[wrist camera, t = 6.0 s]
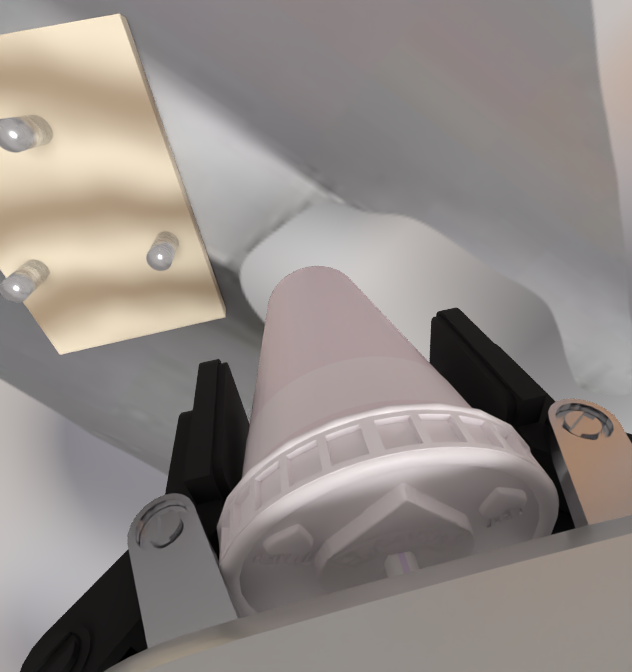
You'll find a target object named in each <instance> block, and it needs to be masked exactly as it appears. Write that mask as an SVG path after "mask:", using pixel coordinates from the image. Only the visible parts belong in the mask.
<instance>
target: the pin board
mask: <svg viewBox="0 0 632 672" xmlns="http://www.w3.org/2000/svg"><path fill="white" fill-rule="evenodd" d="M0 269H1V271H2V272H3V274H4V275H5V277H6V279H5V280H4V281H2V282H1V283H0V294H1V295H2V296H3V297H4V298H6V299H7V300H9V301H12V302H22V301H23V302H24V304H25V305H26V307H27V308H28V310H29V311H30V312H31V314H32V315H33V317H34V318H35V320H36V321H37V322H38V324H39V325H40V327H41V328H42V330H43V331H44V333H45V334H46V335H47V337H48V338H49V340H50V341H51V343H52V344H53V345H54V347H55V348H56V350H57V351H58V353H59V354H60V355H61V354H65V353H69V352H74V351H78V350H83V349H87V348H91V347H96V346H100V345H105V344H109V343H113V342H118V341H122V340H127V339H131V338H135V337H140V336H144V335H149V334H153V333H157V332H162V331H166V330H171V329H175V328H179V327H184V326H188V325H193V324H197V323H201V322H206V321H210V320H215V319H219V318H223V317H226V307H225V305H224V302H223V299H222V296H221V293H220V290H219V287H218V284H217V281H216V278H215V275H214V273H213V270H212V267H211V264H210V261H209V258H208V255H207V252H206V249H205V246H204V243H203V241H202V238H201V235H200V232H199V229H198V226H197V223H196V220H195V217H194V214H193V211H192V209H191V206H190V203H189V200H188V197H187V194H186V191H185V188H184V185H183V182H182V180H181V177H180V174H179V171H178V168H177V165H176V162H175V159H174V156H173V153H172V150H171V148H170V145H169V142H168V139H167V136H166V133H165V130H164V127H163V124H162V121H161V118H160V116H159V113H158V110H157V107H156V104H155V101H154V98H153V95H152V92H151V89H150V86H149V84H148V81H147V78H146V75H145V72H144V69H143V66H142V63H141V60H140V57H139V54H138V52H137V49H136V46H135V43H134V40H133V37H132V34H131V31H130V28H129V25H128V22H127V20H126V18H125V17H124V16H122V15H121V14H115V15H109V16H103V17H98V18H92V19H86V20H81V21H75V22H70V23H64V24H58V25H53V26H47V27H41V28H36V29H30V30H24V31H19V32H13V33H8V34H2V35H0Z"/></svg>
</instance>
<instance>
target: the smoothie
mask: <svg viewBox="0 0 632 672" xmlns="http://www.w3.org/2000/svg"><path fill="white" fill-rule="evenodd" d="M558 509H559V497H558V493H557V489H556V487H555V485H554V483H553V481H552V480H551V479H550V477H549V476H548V475H547V473H546V472H545V471H544V470H543V468H542V467H541V466H540V465H539V463H538V462H537V461H536V459H535V458H534V457H533V456H532V454H531V452H530V447H529V446H528V445H527V443H526V442H525V441H524V440H523V439H522V437H521V436H520V435H519V434H518V433H517V432H516V430H515V429H514V428H513V427H512V426H511V425H510V424H508V423H506V422H504V421H502V420H500V419H498V418H496V417H494V416H492V415H490V414H488V413H486V412H484V411H482V410H480V409H474V408H472V407H471V406H470V405H469V404H468V403H467V402H466V401H465V400H464V399H463V398H462V396H461V395H460V394H459V393H458V392H457V391H456V390H455V389H454V388H453V387H452V385H451V384H450V383H449V382H448V381H447V380H446V379H445V378H444V377H443V376H441V375H440V373H439V372H438V371H437V370H436V369H435V368H434V367H433V366H432V365H431V364H430V363H429V362H428V361H427V360H426V359H425V358H424V357H423V356H422V355H421V354H420V353H419V352H418V350H417V349H416V348H415V347H414V346H413V345H412V344H411V343H410V342H409V341H408V340H407V339H406V338H405V337H404V336H403V334H402V333H401V332H400V331H399V330H398V329H397V328H396V327H395V326H394V325H393V324H392V323H391V322H390V321H389V320H388V319H387V318H386V317H385V316H384V314H383V313H382V312H381V311H380V310H379V309H378V308H377V307H376V306H375V305H374V304H373V303H372V302H371V301H370V300H369V299H368V298H367V296H366V295H365V294H364V293H363V292H362V291H361V290H360V289H359V288H358V287H357V286H356V285H355V284H354V283H353V282H352V281H351V280H350V279H349V278H348V277H347V276H346V275H345V274H343V273H342V272H340V271H338V270H335V269H333V268H329V267H323V266H312V267H306V268H302V269H299V270H297V271H295V272H293V273H291V274H289V275H288V276H286V277H285V278H284V279H283V280H281V281H280V282H279V284H278V285H277V286H276V287H275V289H274V290H273V292H272V294H271V296H270V299H269V303H268V309H267V315H266V322H265V328H264V335H263V341H262V348H261V355H260V361H259V368H258V374H257V381H256V387H255V394H254V400H253V407H252V413H251V420H250V426H249V433H248V437H247V442H246V450H245V457H244V465H243V473H242V479H241V481H240V482H239V483H238V484H237V485H236V487H235V488H234V489H233V490H232V492H231V493H230V494H229V495H228V497H227V498H226V501H225V504H224V507H223V510H222V513H221V516H220V519H219V522H218V524H217V533H218V541H219V549H220V556H219V569H220V571H221V573H222V575H223V577H224V579H225V581H226V583H227V584H228V586H229V589H230V591H231V594H232V596H233V599H234V601H235V604H236V606H237V609H238V611H239V614H240V616H241V618H243V617H246V616H250V615H253V614H257V613H260V612H264V611H267V610H271V609H274V608H278V607H282V606H286V605H289V604H293V603H297V602H300V601H304V600H308V599H311V598H315V597H319V596H322V595H326V594H330V593H334V592H337V591H341V590H345V589H348V588H352V587H356V586H359V585H363V584H367V583H370V582H374V581H378V580H382V579H386V578H389V577H393V576H397V575H401V574H404V573H408V572H412V571H416V570H419V569H423V568H427V567H431V566H434V565H438V564H442V563H446V562H449V561H453V560H457V559H461V558H465V557H468V556H472V555H476V554H480V553H484V552H487V551H491V550H495V549H499V548H503V547H506V546H510V545H514V544H518V543H522V542H526V541H530V540H533V539H537V538H541V537H545V536H549V535H551V533H552V530H553V528H554V525H555V522H556V520H557V517H558Z"/></svg>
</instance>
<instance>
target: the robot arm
mask: <svg viewBox="0 0 632 672" xmlns="http://www.w3.org/2000/svg"><path fill="white" fill-rule="evenodd" d="M430 364H431V365H432V366H433V367H434V368H435V369H436V370H437V371H438V372H439V373H440V375H441V376H443V377H444V378H445V379H446V380H447V381H448V382H449V383H450V384H451V385H452V387H453V388H454V389H455V390H456V391H457V392H458V393H459V394H460V395H461V396H462V398H463V399H464V400H465V401H466V402H467V403H468V404H469V405H470V406H471V407H472V408H474V409H480V410H482V411H484V412H486V413H488V414H490V415H492V416H494V417H496V418H498V419H500V420H502V421H504V422H506V423H508V424H510V425H511V426H512V427H513V428H514V429H515V430H516V432H517V433H518V434H519V435H520V436H521V437H522V439H523V440H524V441H525V442H526V443H527V445H528V446H529V447H530V452H531V454H532V456H533V457H534V458H535V459H536V461H537V462H538V463H539V465H540V466H541V467H542V468H543V470H544V471H545V472H546V473H547V475H548V476H549V477H550V479H551V480H552V481H553V483H554V485H555V487H556V489H557V493H558V497H559V509H558V517H557V520H556V522H555V525H554V528H553V530H552V533H551V535H549V536H545V537H541V538H537V539H533V540H530V541H526V542H522V543H518V544H514V545H510V546H506V547H503V548H499V549H495V550H491V551H487V552H484V553H480V554H476V555H472V556H468V557H465V558H461V559H457V560H453V561H449V562H446V563H442V564H438V565H434V566H431V567H427V568H423V569H419V570H416V571H412V572H408V573H404V574H401V575H397V576H393V577H389V578H386V579H382V580H378V581H374V582H370V583H367V584H363V585H359V586H356V587H352V588H348V589H345V590H341V591H337V592H334V593H330V594H326V595H322V596H319V597H315V598H311V599H308V600H304V601H300V602H297V603H293V604H289V605H286V606H282V607H278V608H274V609H271V610H267V611H264V612H260V613H257V614H253V615H250V616H246V617H243V618H241V616H240V614H239V611H238V609H237V606H236V604H235V601H234V599H233V596H232V594H231V591H230V589H229V586H228V584H227V583H226V581H225V579H224V577H223V575H222V573H221V571H220V569H219V556H220V549H219V541H218V533H217V524H218V522H219V519H220V516H221V513H222V510H223V507H224V504H225V501H226V498H227V497H228V495H229V494H230V493H231V492H232V490H233V489H234V488H235V487H236V485H237V484H238V483H239V482H240V481H241V479H242V473H243V465H244V457H245V450H246V442H247V437H248V433H249V426H250V425H249V422H248V419H247V416H246V413H245V410H244V408H243V405H242V402H241V399H240V396H239V393H238V390H237V388H236V385H235V382H234V379H233V376H232V373H231V370H230V368H229V365H228V363H227V362H226V363H221V361H220V360H219V359H217V360H212V361H208V362H203V363H200V364H199V369H198V376H197V384H196V391H195V398H194V406H193V410H192V411H188V412H183V413H181V414H180V416H179V419H178V424H177V430H176V436H175V441H174V447H173V453H172V458H171V464H170V470H169V476H168V481H167V487H166V493H165V495H163V496H160V497H158V498H156V499H154V500H153V501H151V502H150V503H148V504H147V505H146V506H144V507H143V509H142V510H141V511H140V512H139V513H138V514H137V515H136V517H135V518H134V520H133V522H132V523H131V525H130V529H129V532H128V550H127V551H126V552H125V553H124V554H123V555H122V556H121V557H120V558H119V559H118V560H117V561H116V562H115V563H114V564H113V565H112V566H111V567H110V568H109V569H108V570H107V571H106V572H105V573H104V574H103V575H102V577H100V578H99V579H98V580H97V581H96V582H95V583H94V585H93V586H92V587H91V588H90V589H89V590H88V591H87V592H86V593H85V594H84V595H83V596H82V597H81V598H80V599H79V600H78V601H77V602H76V603H75V604H74V605H73V606H72V607H71V608H70V609H69V610H68V611H67V612H66V613H65V614H64V615H63V616H62V617H61V618H60V619H59V620H58V621H57V622H56V623H55V624H54V625H53V626H52V627H51V628H50V629H49V630H48V631H47V632H46V633H45V634H44V635H43V636H42V638H41V639H40V640H39V641H38V642H37V643H36V645H35V646H34V647H33V648H32V650H31V651H30V653H29V655H28V656H27V658H26V660H25V661H24V663H23V665H22V668H21V671H20V672H632V434H629V433H625V431H624V429H623V427H622V425H621V424H620V422H619V421H618V420H617V419H616V417H615V416H614V415H613V414H611V413H610V412H609V411H607V409H605V408H603V407H601V406H599V405H597V404H595V403H592V402H589V401H586V400H580V399H563V400H560V401H556V402H555V401H554V400H553V399H552V398H551V397H550V396H549V395H548V394H547V393H546V392H545V391H544V390H543V389H542V388H541V387H540V386H539V385H538V384H537V383H536V382H535V381H534V380H533V379H532V378H531V377H530V376H529V375H528V374H527V373H526V372H525V371H524V370H523V369H522V368H521V367H520V366H519V365H518V364H517V363H516V362H515V361H514V360H512V358H511V357H509V356H508V355H507V354H506V353H505V352H504V351H503V350H502V349H501V348H500V347H499V346H498V345H496V344H494V343H493V342H492V341H491V340H490V339H489V338H488V337H487V336H486V335H485V334H484V333H483V332H482V331H481V330H480V329H479V328H478V327H477V326H476V325H475V324H474V323H473V322H472V321H471V320H470V319H469V318H468V317H467V316H466V315H465V314H464V313H463V312H462V311H461V310H460V309H458V308H452V309H448V310H442V311H439V312H437V315H436V317H433V318H432V321H431V340H430Z"/></svg>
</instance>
